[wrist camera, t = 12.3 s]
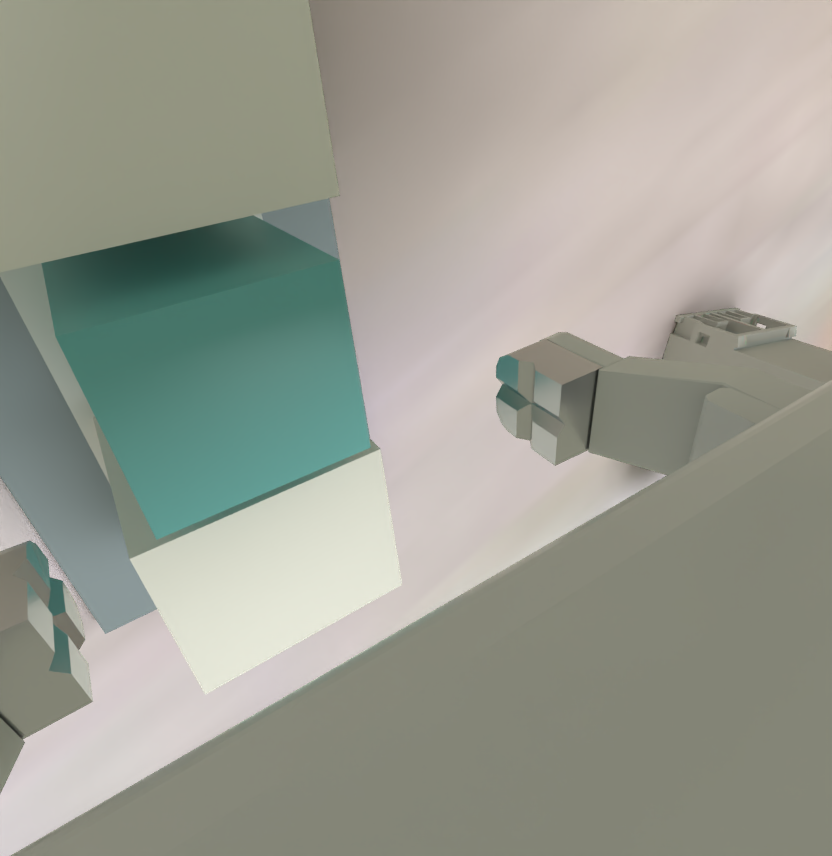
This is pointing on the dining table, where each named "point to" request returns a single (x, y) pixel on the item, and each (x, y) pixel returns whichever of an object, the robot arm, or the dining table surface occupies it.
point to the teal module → (211, 363)
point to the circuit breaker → (749, 346)
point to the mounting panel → (144, 219)
